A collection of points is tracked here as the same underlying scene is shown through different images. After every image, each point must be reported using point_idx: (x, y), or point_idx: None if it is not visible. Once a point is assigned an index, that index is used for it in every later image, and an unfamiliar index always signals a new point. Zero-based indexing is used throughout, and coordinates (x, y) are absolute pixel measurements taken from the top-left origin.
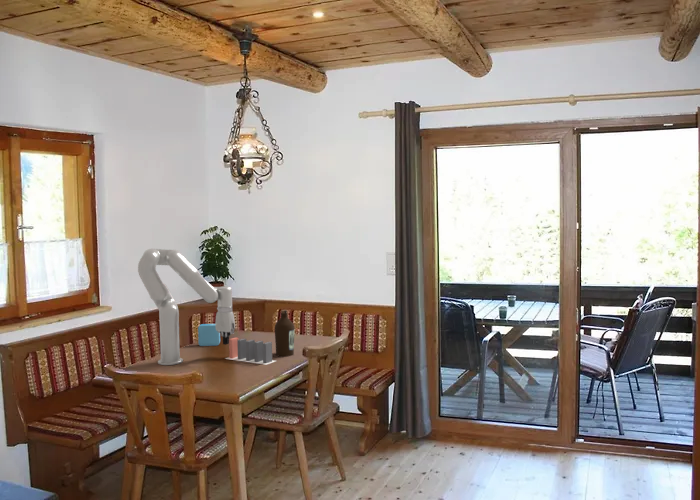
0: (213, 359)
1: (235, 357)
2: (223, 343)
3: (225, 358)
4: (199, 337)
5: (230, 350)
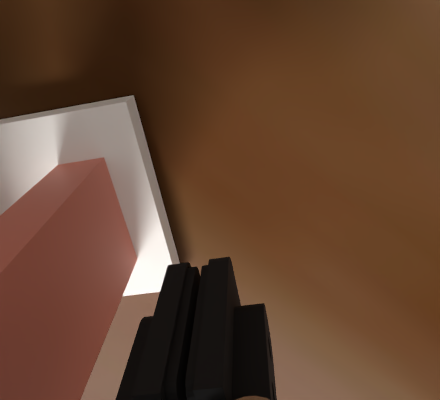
0: (314, 46)
1: None
2: (212, 266)
3: (119, 107)
4: None
5: (41, 206)
